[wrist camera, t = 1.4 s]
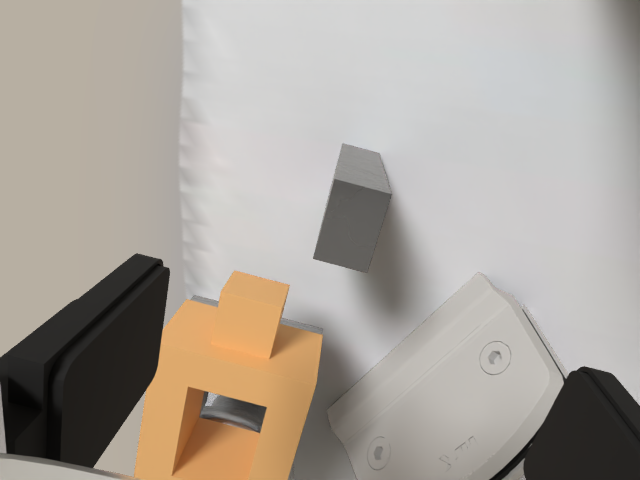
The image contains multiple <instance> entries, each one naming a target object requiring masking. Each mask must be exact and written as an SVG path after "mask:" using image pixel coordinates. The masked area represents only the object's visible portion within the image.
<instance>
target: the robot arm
mask: <svg viewBox="0 0 640 480" xmlns="http://www.w3.org/2000/svg"><path fill="white" fill-rule="evenodd" d="M169 276H170V270H169V268H167V267H163V261H162V260H161V259H157V258H153V257H149V256H145V255H141V254H135V255H133V256H132V257H131V258H129V259H128V260H127V261H126V262H124V263H123V264H122V265H120V266H119V267H118V268H117V269H115V270H114V271H113V272H112V273H110V274H109V275H108V276H107V277H105V278H104V279H103V280H101V281H100V282H99V283H98V284H96V285H95V286H94V287H93V288H92V289H90V290H89V291H88V292H86V293H85V294H84V295H83V296H81V297H80V298H79V299H76V300H74V301H72V302H71V303H70V304H68V305H67V306H66V307H64V308H63V309H62V310H60V311H59V312H58V313H57V314H55V315H54V316H53V317H51V318H50V319H49V320H48V321H46V322H45V323H44V324H43V325H41V326H40V327H39V328H37V329H36V330H35V331H34V332H33V333H31V334H30V335H29V336H27V337H26V338H25V339H24V340H22V341H21V342H20V343H18V344H17V345H16V346H14V347H13V348H12V349H11V350H9V351H8V352H7V353H6V354H4V355H3V356H2V357H0V480H144V479H139V478H135V477H131V476H127V475H123V474H118V473H113V472H109V471H104V470H99V469H94V468H93V467H94V465H95V464H96V463H97V461H98V459H99V458H100V457H101V455H102V454H103V452H104V451H105V449H106V448H107V446H108V445H109V443H110V442H111V440H112V439H113V438H114V436H115V434H116V433H117V432H118V430H119V429H120V427H121V426H122V424H123V423H124V422H125V420H126V419H127V417H128V416H129V414H130V413H131V411H132V410H133V408H134V407H135V405H136V404H137V402H138V401H139V400H140V398H141V397H142V395H143V394H144V392H145V391H146V389H147V388H148V386H149V385H150V383H151V382H152V380H153V378H154V376H155V374H156V371H157V367H158V362H159V354H160V346H161V338H162V331H163V322H164V315H165V307H166V300H167V291H168V284H169ZM523 470H524V475H525V478H526V480H640V406H639V405H638V403H637V402H636V401H635V400H634V399H633V397H632V396H631V395H630V394H629V393H628V391H627V390H626V389H625V388H624V387H623V385H622V384H621V383H620V382H619V381H618V380H617V378H616V377H615V376H614V375H613V374H611V373H609V372H605V371H601V370H597V369H593V368H589V367H585V366H584V367H580V368H579V369H578V370H577V371H572V372H571V373H569V375H568V376H567V378H566V380H565V382H564V384H563V386H562V388H561V390H560V392H559V394H558V396H557V397H556V399H555V401H554V403H553V405H552V407H551V409H550V411H549V413H548V415H547V416H546V418H545V420H544V422H543V424H542V426H541V428H540V430H539V432H538V434H537V436H536V437H535V439H534V441H533V443H532V445H531V447H530V449H529V451H528V453H527V455H526V457H525V459H524V464H523Z"/></svg>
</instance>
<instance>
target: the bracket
mask: <svg viewBox="0 0 640 480" xmlns="http://www.w3.org/2000/svg"><path fill="white" fill-rule="evenodd" d="M289 286H290V285H288V284H284V283H280V282H276V281H272V280H269V279H265V278H261V277H257V276H253V275H250V274H246V273H242V272H238V271H234V272H233V273H232V275H231V277H230V278H229V280H228V281H227V283H226V284H225V286H224V287H223V289H222V291H221V294H220V299H219V304H218V307H215V306H211V305H207V304H203V303H200V302H196V301H192V300H188V299H186V301H185V302H184V303H183V304H182V306H181V307H180V308H179V310H178V311H177V312H176V314H175V315H174V316H173V317H172V319H171V320H170V321H169V323H168V324H167V325H166V326H165V328H164V329H163V331H162V338H161V346H160V354H159V362H158V367H157V371H156V374H155V376H154V378H153V380H152V382H151V383H150V385H149V386H148V388H147V389H146V395H145V403H144V409H143V416H142V423H141V430H140V437H139V444H138V451H137V458H136V465H135V472H134V477H135V478H139V479H144V480H288V477H289V473H290V470H291V467H292V463H293V460H294V457H295V453H296V450H297V447H298V444H299V440H300V437H301V434H302V430H303V427H304V424H305V420H306V417H307V414H308V410H309V407H310V404H311V401H312V397H313V394H314V391H315V387H316V383H317V376H318V368H319V361H320V353H321V346H322V338H323V335H321V334H318V333H314V332H310V331H306V330H302V329H299V328H295V327H291V326H287V325H283V324H280V321H281V317H282V314H283V310H284V306H285V302H286V298H287V294H288V290H289ZM204 391H207V392H211V393H215V394H219V395H223V396H226V397H230V398H234V399H238V400H242V401H246V402H249V403H253V404H257V405H261V406H265V407H267V409H266V413H265V417H264V420H263V424H262V428H261V432H260V433H258V432H254V431H250V430H246V429H242V428H238V427H234V426H231V425H227V424H223V423H219V422H215V421H211V420H207V419H204V418H200V417H199V415H200V410H201V405H202V400H203V395H204Z"/></svg>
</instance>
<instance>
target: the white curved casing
mask: <svg viewBox="0 0 640 480" xmlns="http://www.w3.org/2000/svg"><path fill="white" fill-rule="evenodd" d="M568 375H569V374H568V373H567V371H566V370H565V368H564V366H563V365H562V363H561V362H560V360H559V358H558V357H557V355H556V354H555V352H554V350H553V349H552V347H551V346H550V344H549V342H548V341H547V339H546V338H545V336H544V334H543V333H542V331H541V330H540V328H539V326H538V325H537V323H536V322H535V320H534V318H533V317H532V315H531V314H530V312H529V311H528V309H527V308H526V306H525V305H524V304H523V305H522V306H521V307H520V305H519V304H518V302H517V300H516V299H515V297H514V296H513V295H511V294H508V293H506V292H504V291H502V290H499V289H497V288H495V287H494V286H493V284H492V283H491V282H490V281H489V280H488V278H487V277H486V276H485V275H484V274H482V273H480V272H478V273H477V274H476V275H475V276H474V277H473V278H471V279H470V280H469V281H468V282H467V283H466V284H465V285H464V286H463V287H462V288H460V289H459V290H458V291H457V292H456V293H455V294H454V295H453V296H452V297H451V298H449V299H448V300H447V301H446V302H445V303H444V304H443V305H442V306H441V307H440V308H438V309H437V310H436V311H435V312H434V313H433V314H432V315H431V316H430V317H429V318H427V319H426V320H425V321H424V322H423V323H422V324H421V325H420V326H419V327H418V328H416V329H415V330H414V331H413V332H412V333H411V334H410V335H409V336H408V337H407V338H405V339H404V340H403V341H402V342H401V343H400V344H399V345H398V346H397V347H396V348H394V349H393V350H392V351H391V352H390V353H389V354H388V355H387V356H386V357H385V358H383V359H382V360H381V361H380V362H379V363H378V364H377V365H376V366H375V367H374V368H372V369H371V370H370V371H369V372H368V373H367V374H366V375H365V376H364V377H363V378H361V379H360V380H359V381H358V382H357V383H356V384H355V385H354V386H353V387H352V388H350V389H349V390H348V391H347V392H346V393H345V394H344V395H343V396H342V397H340V398H339V399H338V400H337V401H336V402H335V403H334V404H333V405H332V406H331V407H329V408H328V409H327V415H328V419H329V423H330V427H331V429H332V431H333V432H334V434H335V435H336V436H337V437H338V439H339V440H340V441H341V442H342V444H343V445H344V447H345V449H346V452H347V454H348V457H349V460H350V462H351V465H352V467H353V470H354V473H355V475H356V478H357V480H518V479H519V478H520V477H522V476H523V475H524V470H523V464H524V459H525V457H526V455H527V453H528V451H529V449H530V447H531V445H532V443H533V441H534V439H535V437H536V436H537V434H538V432H539V430H540V428H541V426H542V424H543V422H544V420H545V418H546V416H547V415H548V413H549V411H550V409H551V407H552V405H553V403H554V401H555V399H556V397H557V396H558V394H559V392H560V390H561V388H562V386H563V384H564V382H565V380H566V378H567V376H568Z"/></svg>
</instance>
